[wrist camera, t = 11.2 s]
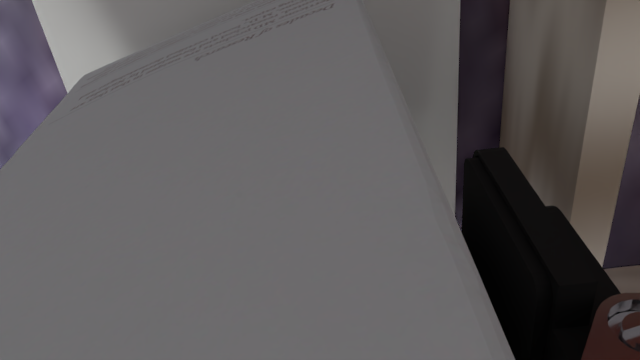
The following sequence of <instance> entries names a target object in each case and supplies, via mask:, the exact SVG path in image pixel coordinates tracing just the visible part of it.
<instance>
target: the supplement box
mask: <svg viewBox="0 0 640 360" xmlns="http://www.w3.org/2000/svg"><path fill="white" fill-rule="evenodd" d="M0 360H515V358H514V356H513V353H512V351H511V348H510V346H509V344H508V341H507V339H506V337H505V334H504V332H503V330H502V327H501V325H500V322H499V320H498V318H497V315H496V313H495V311H494V308H493V306H492V303H491V301H490V299H489V296H488V294H487V292H486V289H485V287H484V285H483V282H482V280H481V277H480V275H479V273H478V270H477V268H476V266H475V263H474V261H473V258H472V256H471V254H470V251H469V249H468V247H467V244H466V242H465V239H464V237H463V235H462V232H461V230H460V228H459V225H458V223H457V221H456V218H455V216H454V214H453V211H452V209H451V207H450V204H449V202H448V200H447V197H446V195H445V193H444V190H443V188H442V186H441V183H440V181H439V179H438V176H437V174H436V172H435V169H434V167H433V164H432V162H431V160H430V157H429V155H428V153H427V150H426V148H425V146H424V143H423V141H422V139H421V136H420V134H419V132H418V129H417V127H416V125H415V122H414V120H413V118H412V115H411V113H410V111H409V108H408V106H407V104H406V102H405V99H404V97H403V95H402V92H401V90H400V88H399V85H398V83H397V80H396V78H395V76H394V73H393V71H392V69H391V66H390V64H389V62H388V59H387V57H386V54H385V52H384V50H383V47H382V45H381V42H380V40H379V37H378V35H377V33H376V30H375V28H374V25H373V23H372V21H371V18H370V16H369V13H368V11H367V9H366V6H365V4H364V2H363V0H256V1H253V2H251V3H248V4H246V5H243V6H241V7H239V8H236V9H234V10H232V11H230V12H228V13H226V14H223V15H221V16H219V17H217V18H214V19H212V20H210V21H207V22H205V23H202V24H200V25H198V26H196V27H193V28H191V29H189V30H186V31H184V32H182V33H179V34H177V35H175V36H172V37H170V38H168V39H165V40H163V41H161V42H158V43H156V44H154V45H151V46H149V47H147V48H144V49H142V50H140V51H137V52H135V53H133V54H130V55H128V56H126V57H124V58H121V59H119V60H117V61H114V62H112V63H110V64H107V65H105V66H103V67H101V68H99V69H97V70H94V71H92V72H90V73H88V74H85V75H84V76H83V77H82V78H81V79H80V80H79V81H78V82H77V83H76V84H75V85H74V86H73V88H72V89H71V90H70V91H69V93H68V94H67V95H66V96H65V97H64V98H63V99H62V101H61V102H60V103H59V104H58V105H57V106H56V107H55V109H54V110H53V111H52V112H51V113H50V114H49V115H48V116H47V117H46V118H45V120H44V121H43V122H42V123H41V124H40V125H39V126H38V127H37V129H36V130H35V131H34V132H33V133H32V134H31V135H30V136H29V137H28V139H27V140H26V141H25V142H24V143H23V144H22V145H21V146H20V147H19V149H18V150H17V151H16V153H15V154H14V155H13V157H12V158H11V159H10V160H9V161H8V162H7V163H6V164H5V165H4V166H3V167H2V168H1V169H0Z"/></svg>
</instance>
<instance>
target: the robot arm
mask: <svg viewBox="0 0 640 360" xmlns="http://www.w3.org/2000/svg"><path fill="white" fill-rule="evenodd" d="M462 235H463V237H464V239H465V242H466V244H467V247H468V249H469V251H470V254H471V256H472V258H473V261H474V263H475V266H476V268H477V270H478V273H479V275H480V277H481V280H482V282H483V285H484V287H485V289H486V292H487V294H488V296H489V299H490V301H491V303H492V306H493V308H494V311H495V313H496V315H497V318H498V320H499V322H500V325H501V327H502V330H503V332H504V334H505V337H506V339H507V341H508V344H509V346H510V348H511V351H512V353H513V356H514V358H515V360H640V293H622V294H621V293H620V291H619V290H618V288H617V287H616V286H615V284H614V283H613V282H612V280H611V279H610V277H609V276H608V275H607V273H606V272H605V271H604V269H603V268H602V266H601V265H600V264H599V262H598V261H597V260H596V258H595V257H594V255H593V254H592V253H591V251H590V250H589V249H588V247H587V246H586V244H585V243H584V242H583V240H582V239H581V238H580V236H579V235H578V233H577V232H576V231H575V229H574V228H573V227H572V225H571V224H570V222H569V221H568V220H567V218H566V217H565V216H564V214H563V213H562V211H561V210H560V209H559V208H558V207H556V206H553V205H552V206H545V205H544V203H543V202H542V200H541V199H540V197H539V196H538V195H537V193H536V192H535V190H534V189H533V187H532V186H531V184H530V183H529V182H528V180H527V179H526V177H525V176H524V174H523V173H522V171H521V170H520V169H519V167H518V166H517V164H516V163H515V161H514V160H513V159H512V157H511V156H510V154H509V153H508V151H507V150H506V149H505V148H504V147H500V148H491V149H483V150H476V151H475V152H474V155H473V158H466V159H465V162H464V185H463V216H462Z"/></svg>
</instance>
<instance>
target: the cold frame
mask: <svg viewBox="0 0 640 360" xmlns="http://www.w3.org/2000/svg"><path fill="white" fill-rule="evenodd" d="M639 95H640V0H510V8H509V22H508V36H507V49H506V63H505V77H504V91H503V105H502V118H501V132H500V146H499V148H500V147H504V148H505V149H506V150H507V151H508V153H509V154H510V156H511V157H512V159H513V160H514V161H515V163H516V164H517V166H518V167H519V169H520V170H521V171H522V173H523V174H524V176H525V177H526V179H527V180H528V182H529V183H530V184H531V186H532V187H533V189H534V190H535V192H536V193H537V195H538V196H539V197H540V199H541V200H542V202H543V203H544V205H545V206H552V205H553V206H556V207H558V208H559V209H560V210H561V211H562V213H563V214H564V216H565V217H566V218H567V220H568V221H569V222H570V224H571V225H572V227H573V228H574V229H575V231H576V232H577V233H578V235H579V236H580V238H581V239H582V240H583V242H584V243H585V244H586V246H587V247H588V249H589V250H590V251H591V253H592V254H593V255H594V257H595V258H596V260H597V261H598V262H599V264H600V265H601V266H602V267H603V262H604V257H605V253H606V248H607V244H608V239H609V234H610V230H611V225H612V220H613V216H614V211H615V206H616V202H617V197H618V192H619V188H620V183H621V179H622V174H623V169H624V165H625V160H626V155H627V151H628V146H629V141H630V137H631V132H632V127H633V123H634V118H635V113H636V109H637V104H638V100H639ZM604 271H605V272H606V273H607V275H608V276H609V277H610V279H611V280H612V282H613V283H614V284H615V286H616V287H617V288H618V290H619V291H620V293H621V294H622V293H640V265H636V266H627V267H618V268H609V269H604Z"/></svg>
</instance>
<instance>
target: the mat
mask: <svg viewBox="0 0 640 360" xmlns="http://www.w3.org/2000/svg"><path fill="white" fill-rule="evenodd" d="M253 1H256V0H32V2H33V5H34V7H35V10H36V12H37V15H38V18H39V20H40V23H41V25H42V28H43V31H44V33H45V36H46V38H47V41H48V44H49V46H50V49H51V51H52V54H53V57H54V59H55V62H56V65H57V67H58V70H59V72H60V75H61V78H62V80H63V83H64V85H65V88H66V91H67V93H69V91H70V90H71V89H72V88H73V86H74V85H75V84H76V83H77V82H78V81H79V80H80V79H81V78H82V77H83V76H84V75H85V74H88V73H90V72H92V71H94V70H97V69H99V68H101V67H103V66H105V65H107V64H110V63H112V62H114V61H117V60H119V59H121V58H124V57H126V56H128V55H130V54H133V53H135V52H137V51H140V50H142V49H144V48H147V47H149V46H151V45H154V44H156V43H158V42H161V41H163V40H165V39H168V38H170V37H172V36H175V35H177V34H179V33H182V32H184V31H186V30H189V29H191V28H193V27H196V26H198V25H200V24H202V23H205V22H207V21H210V20H212V19H214V18H217V17H219V16H221V15H223V14H226V13H228V12H230V11H232V10H234V9H236V8H239V7H241V6H243V5H246V4H248V3H251V2H253ZM363 2H364V4H365V6H366V9H367V11H368V13H369V16H370V18H371V21H372V23H373V25H374V28H375V30H376V33H377V35H378V37H379V40H380V42H381V45H382V47H383V50H384V52H385V54H386V57H387V59H388V62H389V64H390V66H391V69H392V71H393V73H394V76H395V78H396V80H397V83H398V85H399V88H400V90H401V92H402V95H403V97H404V99H405V102H406V104H407V106H408V108H409V111H410V113H411V115H412V118H413V120H414V122H415V125H416V127H417V129H418V132H419V134H420V136H421V139H422V141H423V143H424V146H425V148H426V150H427V153H428V155H429V157H430V160H431V162H432V164H433V167H434V169H435V172H436V174H437V176H438V179H439V181H440V183H441V186H442V188H443V190H444V193H445V195H446V197H447V200H448V202H449V204H450V207H451V209H452V211H453V214H454V216H455V195H456V155H457V115H458V75H459V35H460V0H363Z"/></svg>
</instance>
